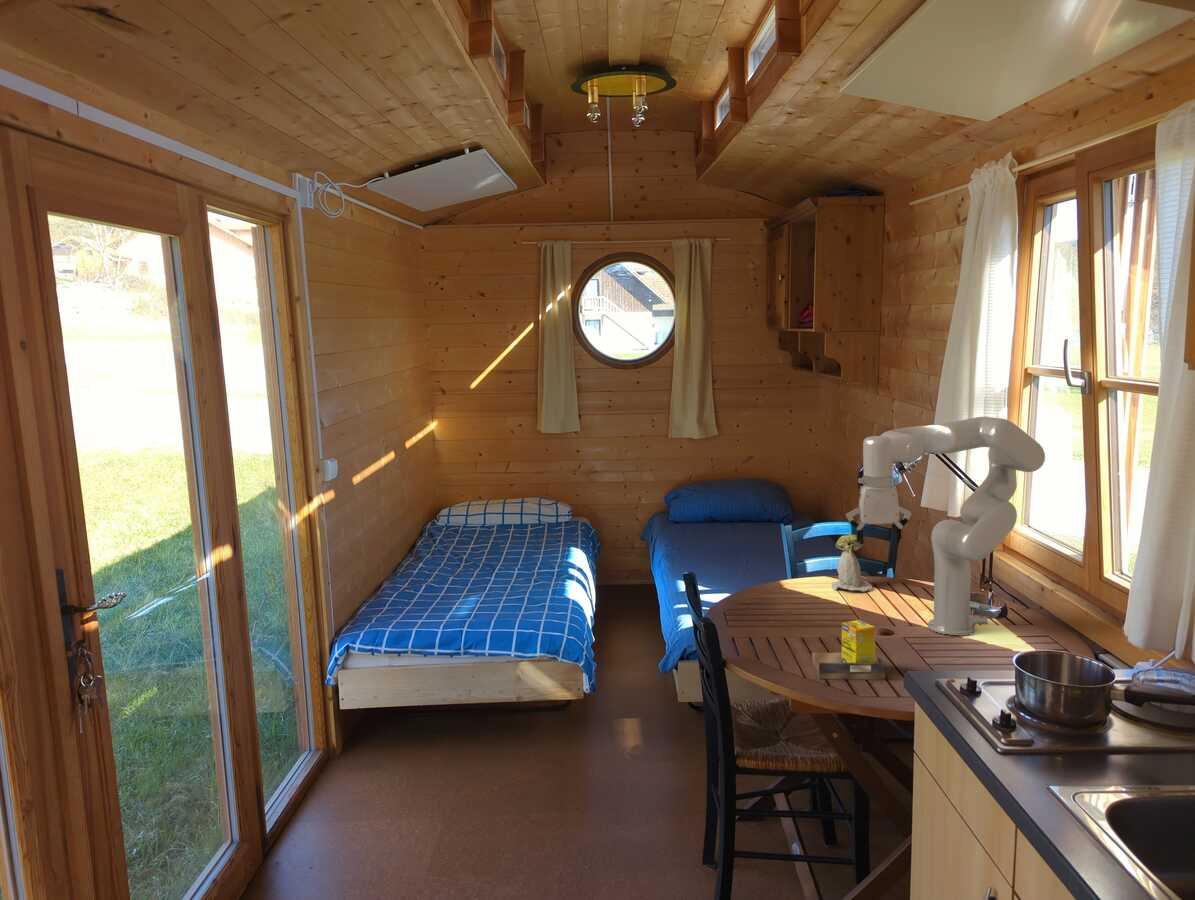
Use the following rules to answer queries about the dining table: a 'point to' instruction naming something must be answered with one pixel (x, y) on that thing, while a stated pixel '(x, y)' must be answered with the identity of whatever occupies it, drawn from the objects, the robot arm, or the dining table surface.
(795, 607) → the dining table surface
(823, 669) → the flat box
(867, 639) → the supplement box
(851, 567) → the clay mushroom sculpture
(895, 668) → the dining table surface
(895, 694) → the dining table surface
